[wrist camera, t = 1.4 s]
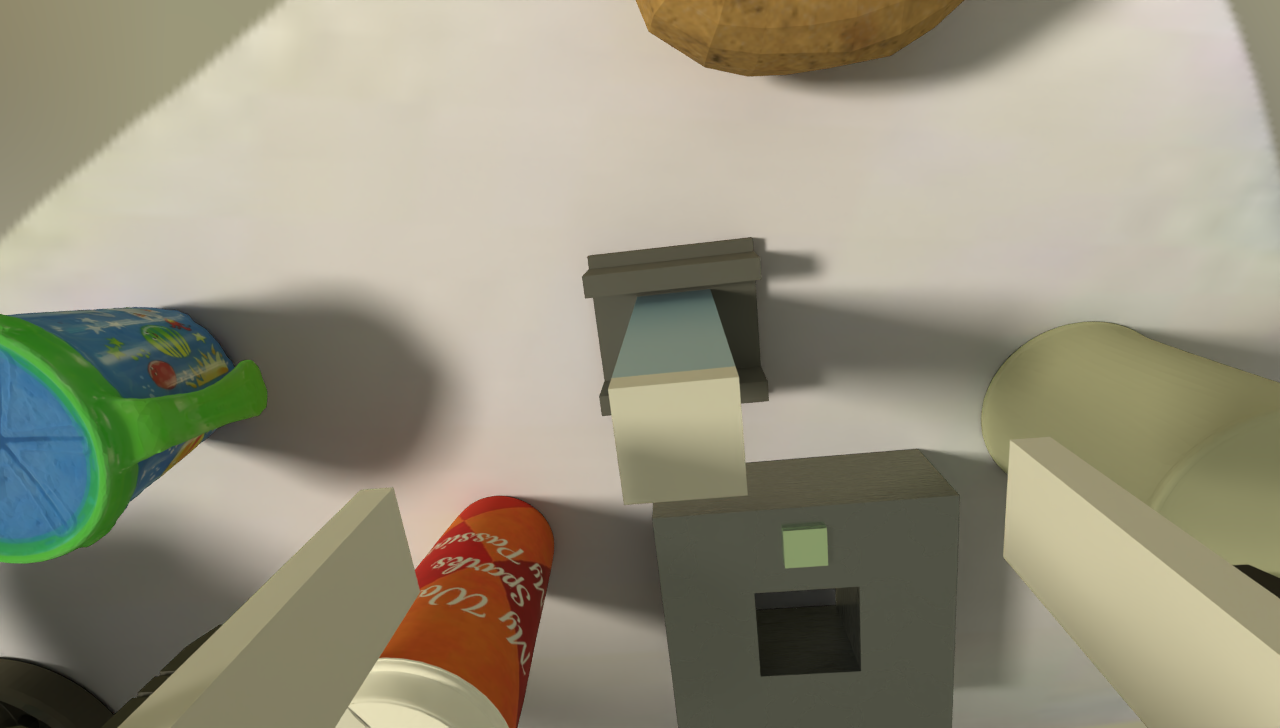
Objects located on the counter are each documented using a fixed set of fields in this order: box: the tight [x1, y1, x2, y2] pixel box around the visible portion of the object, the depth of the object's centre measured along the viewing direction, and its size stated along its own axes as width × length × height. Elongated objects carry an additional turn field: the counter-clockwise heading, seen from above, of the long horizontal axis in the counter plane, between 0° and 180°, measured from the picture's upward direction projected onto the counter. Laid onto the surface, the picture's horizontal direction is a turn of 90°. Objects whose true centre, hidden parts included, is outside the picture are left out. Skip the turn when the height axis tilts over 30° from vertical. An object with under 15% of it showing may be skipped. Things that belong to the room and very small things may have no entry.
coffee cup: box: [335, 496, 554, 728], centre depth 28 cm, size 8×8×15 cm
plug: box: [608, 289, 748, 505], centre depth 24 cm, size 4×4×14 cm
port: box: [652, 449, 960, 728], centre depth 32 cm, size 14×14×5 cm
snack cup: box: [0, 307, 267, 564], centre depth 29 cm, size 16×10×10 cm
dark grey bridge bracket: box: [582, 237, 769, 416], centre depth 30 cm, size 8×8×3 cm
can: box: [981, 322, 1280, 578], centre depth 26 cm, size 9×9×12 cm
